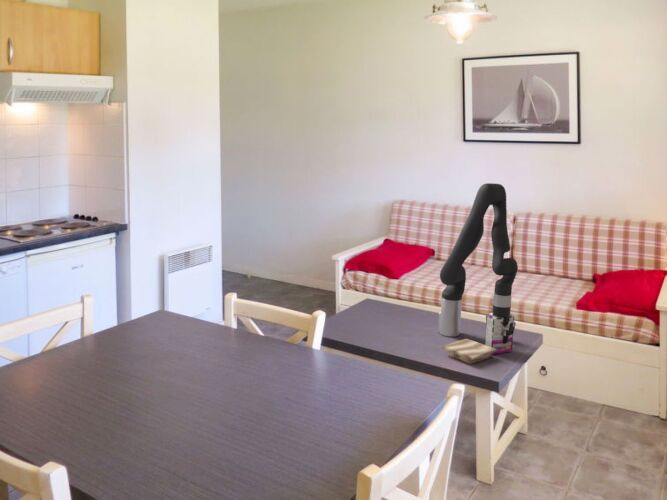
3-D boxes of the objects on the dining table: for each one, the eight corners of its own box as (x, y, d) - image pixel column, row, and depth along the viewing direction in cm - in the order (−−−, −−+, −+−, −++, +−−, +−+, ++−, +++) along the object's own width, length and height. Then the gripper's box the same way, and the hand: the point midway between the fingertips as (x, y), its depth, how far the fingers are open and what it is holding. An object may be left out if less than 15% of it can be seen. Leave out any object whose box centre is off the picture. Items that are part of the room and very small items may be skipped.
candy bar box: (504, 348, 288) (507, 312, 284) (512, 352, 283) (515, 315, 280) (483, 351, 283) (486, 315, 280) (491, 355, 279) (493, 318, 275)
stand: (441, 355, 278) (442, 346, 277) (465, 347, 288) (466, 338, 287) (471, 366, 266) (472, 357, 265) (495, 358, 276) (496, 349, 275)
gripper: (521, 306, 276) (518, 344, 279) (493, 298, 286) (490, 335, 290) (510, 309, 271) (507, 348, 274) (482, 301, 282) (479, 338, 285)
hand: (498, 341), depth 282 cm, fingers closed on candy bar box, 5 cm apart
